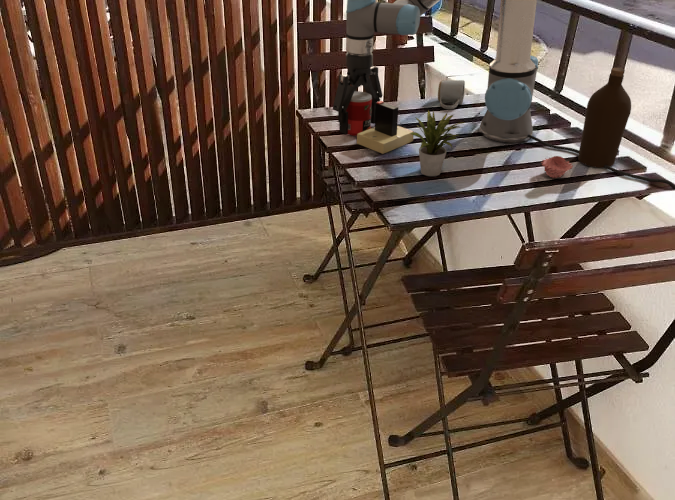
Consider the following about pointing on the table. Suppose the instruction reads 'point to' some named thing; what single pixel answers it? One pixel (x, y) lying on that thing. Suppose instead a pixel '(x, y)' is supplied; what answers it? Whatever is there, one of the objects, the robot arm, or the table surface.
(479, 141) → the table surface
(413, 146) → the table surface
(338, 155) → the table surface
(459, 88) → the ceramic mug
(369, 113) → the canned food
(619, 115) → the olive oil
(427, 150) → the house plant
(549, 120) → the table surface
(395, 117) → the red-topped black block
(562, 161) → the flower
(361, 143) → the tan box
